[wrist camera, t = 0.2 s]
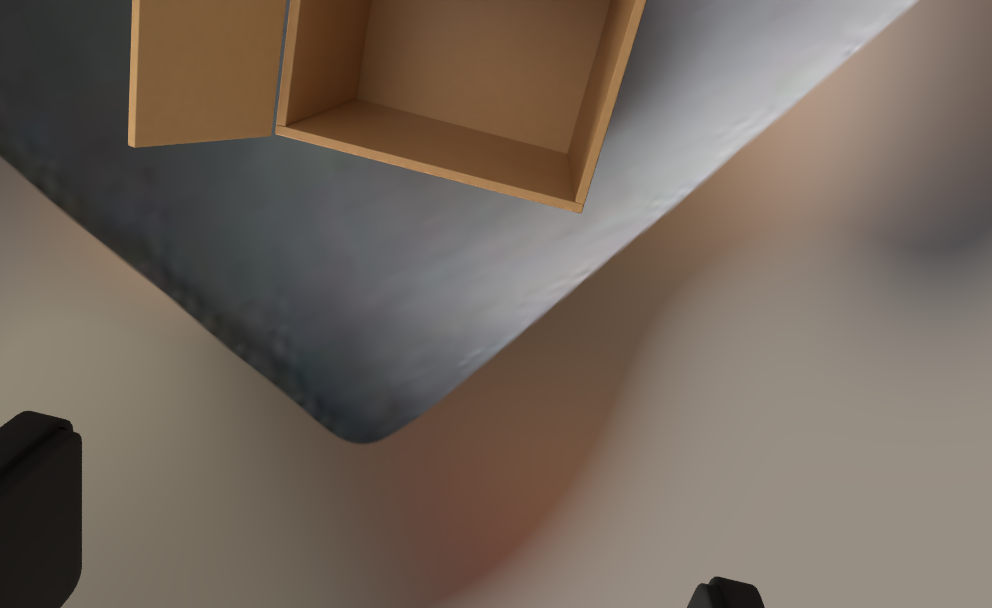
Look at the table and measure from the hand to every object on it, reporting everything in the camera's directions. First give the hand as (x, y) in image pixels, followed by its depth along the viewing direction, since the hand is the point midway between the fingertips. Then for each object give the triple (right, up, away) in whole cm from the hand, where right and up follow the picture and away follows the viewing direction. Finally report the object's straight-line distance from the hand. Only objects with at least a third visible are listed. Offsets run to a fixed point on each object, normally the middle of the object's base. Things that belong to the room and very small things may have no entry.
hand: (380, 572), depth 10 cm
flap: (-7, +15, +12) cm, 20 cm away
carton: (+1, +18, +26) cm, 32 cm away
